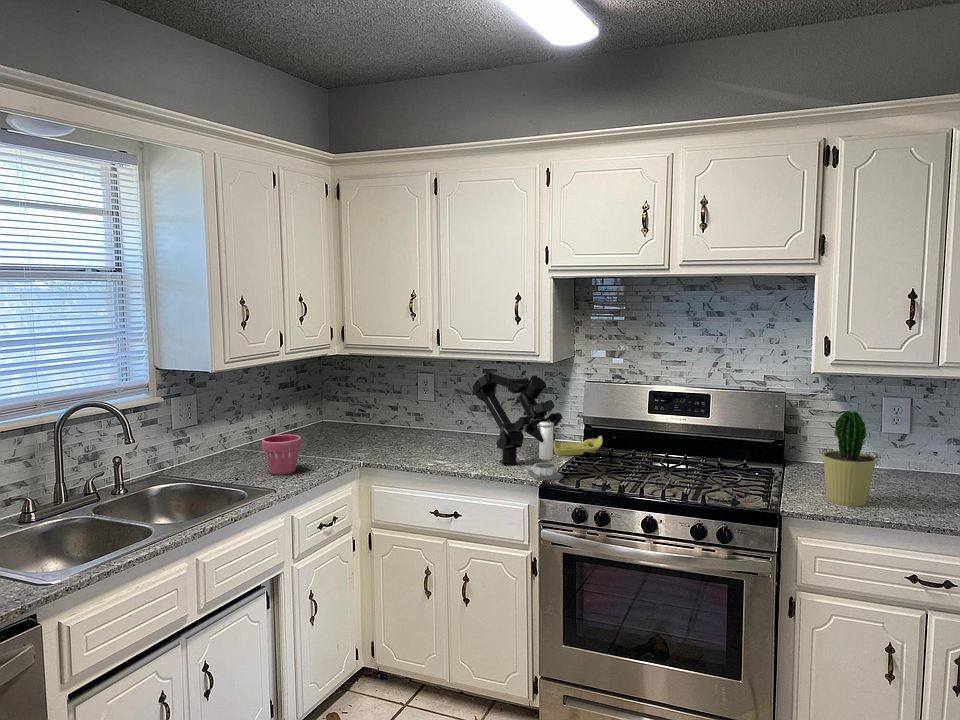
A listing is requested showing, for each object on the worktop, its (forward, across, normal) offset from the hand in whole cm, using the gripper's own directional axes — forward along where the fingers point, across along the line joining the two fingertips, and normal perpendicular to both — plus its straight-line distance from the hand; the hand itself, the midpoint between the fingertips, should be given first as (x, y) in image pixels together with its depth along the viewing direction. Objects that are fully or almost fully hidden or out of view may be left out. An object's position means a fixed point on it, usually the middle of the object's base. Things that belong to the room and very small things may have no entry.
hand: (548, 440), depth 260 cm
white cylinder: (+4, 0, +6) cm, 7 cm away
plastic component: (-6, +33, +26) cm, 42 cm away
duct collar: (+8, 0, +10) cm, 13 cm away
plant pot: (-32, -78, +52) cm, 100 cm away
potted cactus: (+62, +63, -44) cm, 99 cm away
